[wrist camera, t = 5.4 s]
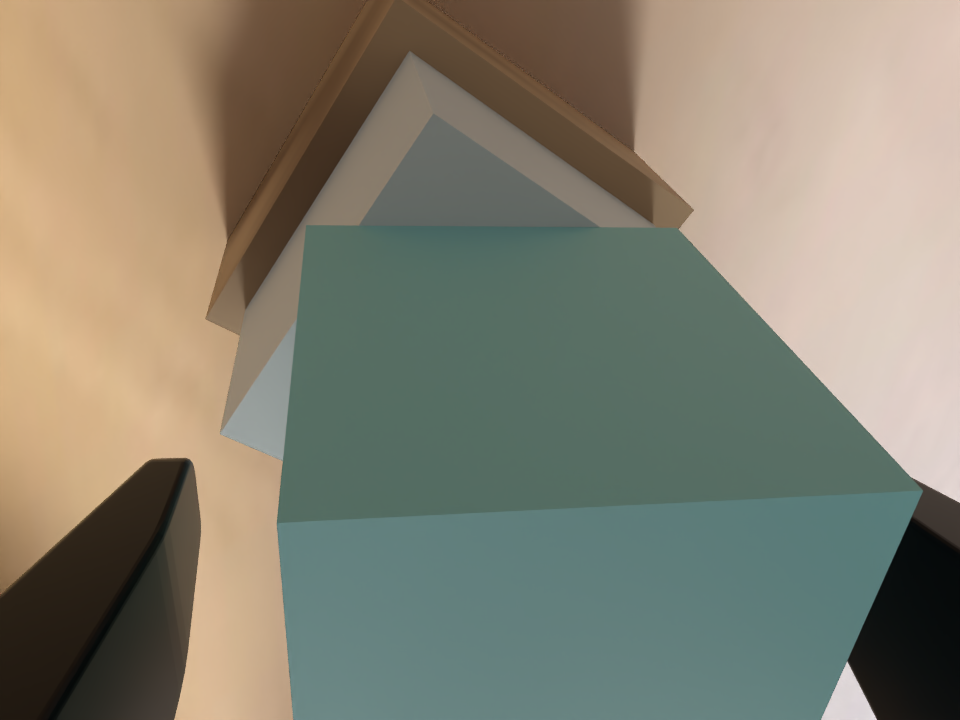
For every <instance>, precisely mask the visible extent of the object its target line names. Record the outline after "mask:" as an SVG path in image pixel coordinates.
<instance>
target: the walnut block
mask: <svg viewBox="0 0 960 720" xmlns="http://www.w3.org/2000/svg"><path fill="white" fill-rule="evenodd" d="M409 51H411V52H412V53H413V54H415V55H416V56H418V57H419V58H420V59H422V60H423V61H425V62H426V63H427V64H429V65H430V66H432V67H433V68H434V69H436V70H437V71H439V72H440V73H441V74H443V75H444V76H446V77H447V78H449V79H450V80H451V81H453V82H454V83H456V84H457V85H458V86H460V87H461V88H463V89H464V90H465V91H467V92H468V93H470V94H471V95H472V96H474V97H475V98H477V99H478V100H479V101H481V102H482V103H484V104H485V105H487V106H488V107H489V108H491V109H492V110H494V111H495V112H496V113H498V114H499V115H501V116H502V117H503V118H505V119H506V120H508V121H509V122H510V123H512V124H513V125H515V126H516V127H517V128H519V129H520V130H522V131H523V132H524V133H526V134H527V135H529V136H530V137H532V138H533V139H534V140H536V141H537V142H539V143H540V144H541V145H543V146H544V147H546V148H547V149H548V150H550V151H551V152H553V153H554V154H555V155H557V156H558V157H560V158H561V159H562V160H564V161H565V162H567V163H568V164H569V165H571V166H572V167H574V168H575V169H577V170H578V171H579V172H581V173H582V174H584V175H585V176H586V177H588V178H589V179H591V180H592V181H593V182H595V183H596V184H598V185H599V186H600V187H602V188H603V189H605V190H606V191H607V192H609V193H610V194H612V195H613V196H614V197H616V198H617V199H619V200H620V201H622V202H623V203H624V204H626V205H627V206H629V207H630V208H631V209H633V210H634V211H636V212H637V213H638V214H640V215H641V216H643V217H644V218H645V219H647V220H648V221H650V222H651V223H652V224H654V226H655V227H656V228H678V229H679V228H680V226H681V225H682V224H683V223H684V222H685V220H686V219H687V218H688V217H689V215H690V214H691V213H692V212H693V211H694V210H693V209H692V208H691V207H690V206H689V205H688V204H687V203H686V202H685V201H684V200H683V199H682V198H681V197H680V196H679V195H678V194H677V193H676V192H675V191H674V190H673V189H672V188H671V187H670V186H669V185H668V184H667V183H666V182H665V181H664V180H662V179H661V178H660V177H659V176H658V175H657V174H656V173H655V172H654V171H653V170H652V169H651V168H650V167H649V166H648V165H647V164H646V163H645V162H644V161H643V160H642V159H641V158H640V157H639V156H638V155H637V154H636V153H635V152H633V151H632V150H631V149H629V148H628V147H627V146H625V145H624V144H623V143H621V142H620V141H618V140H617V139H616V138H614V137H613V136H612V135H610V134H609V133H607V132H606V131H605V130H603V129H602V128H601V127H599V126H598V125H596V124H595V123H594V122H592V121H591V120H590V119H588V118H587V117H586V116H584V115H583V114H581V113H580V112H579V111H577V110H576V109H575V108H573V107H572V106H570V105H569V104H568V103H566V102H565V101H564V100H562V99H561V98H559V97H558V96H557V95H555V94H554V93H553V92H551V91H550V90H549V89H547V88H546V87H544V86H543V85H542V84H540V83H539V82H538V81H536V80H535V79H533V78H532V77H531V76H529V75H528V74H527V73H525V72H524V71H522V70H521V69H520V68H518V67H517V66H516V65H514V64H513V63H512V62H510V61H509V60H507V59H506V58H505V57H503V56H502V55H501V54H499V53H498V52H496V51H495V50H494V49H492V48H491V47H490V46H488V45H487V44H485V43H484V42H483V41H481V40H480V39H479V38H477V37H476V36H474V35H473V34H472V33H470V32H469V31H468V30H466V29H465V28H464V27H462V26H461V25H459V24H458V23H457V22H455V21H454V20H453V19H451V18H450V17H448V16H447V15H446V14H444V13H443V12H442V11H440V10H439V9H437V8H436V7H435V6H433V5H432V4H431V3H429V2H428V1H427V0H367V1H366V3H365V5H364V6H363V8H362V10H361V12H360V13H359V15H358V17H357V18H356V20H355V22H354V24H353V25H352V27H351V29H350V31H349V32H348V34H347V36H346V37H345V39H344V41H343V43H342V44H341V46H340V48H339V49H338V51H337V53H336V55H335V56H334V58H333V60H332V62H331V63H330V65H329V67H328V68H327V70H326V72H325V74H324V75H323V77H322V79H321V81H320V82H319V84H318V86H317V87H316V89H315V91H314V93H313V94H312V96H311V98H310V99H309V101H308V103H307V105H306V106H305V108H304V110H303V112H302V113H301V115H300V117H299V118H298V120H297V122H296V124H295V125H294V127H293V129H292V131H291V132H290V134H289V136H288V137H287V139H286V141H285V143H284V144H283V146H282V148H281V150H280V151H279V153H278V155H277V156H276V158H275V160H274V162H273V163H272V165H271V167H270V168H269V170H268V172H267V174H266V175H265V177H264V179H263V181H262V182H261V184H260V186H259V187H258V189H257V191H256V193H255V194H254V196H253V198H252V200H251V201H250V203H249V205H248V206H247V208H246V210H245V212H244V213H243V215H242V217H241V219H240V220H239V222H238V224H237V225H236V227H235V229H234V231H233V232H232V234H231V236H230V237H229V239H228V241H227V244H226V248H225V252H224V255H223V259H222V262H221V266H220V269H219V273H218V276H217V280H216V283H215V287H214V291H213V294H212V298H211V301H210V305H209V308H208V312H207V315H206V320H208V321H210V322H213V323H215V324H217V325H219V326H221V327H223V328H225V329H227V330H230V331H232V332H234V333H236V334H238V335H240V333H241V328H242V324H243V319H244V314H245V310H246V308H247V306H248V305H249V303H250V302H251V300H252V298H253V297H254V295H255V294H256V292H257V291H258V289H259V287H260V286H261V284H262V283H263V281H264V280H265V278H266V276H267V275H268V273H269V272H270V270H271V268H272V267H273V265H274V264H275V262H276V261H277V259H278V257H279V256H280V254H281V253H282V251H283V250H284V248H285V246H286V245H287V243H288V242H289V240H290V238H291V237H292V235H293V234H294V232H295V231H296V229H297V227H298V226H299V224H300V223H301V221H302V219H303V218H304V216H305V215H306V213H307V212H308V210H309V208H310V207H311V205H312V204H313V202H314V201H315V199H316V197H317V196H318V194H319V193H320V191H321V189H322V188H323V186H324V185H325V183H326V182H327V180H328V178H329V177H330V175H331V174H332V172H333V171H334V169H335V167H336V166H337V164H338V163H339V161H340V159H341V158H342V156H343V155H344V153H345V152H346V150H347V148H348V147H349V145H350V144H351V142H352V141H353V139H354V137H355V136H356V134H357V133H358V131H359V129H360V128H361V126H362V125H363V123H364V122H365V120H366V118H367V117H368V115H369V114H370V112H371V111H372V109H373V107H374V106H375V104H376V103H377V101H378V99H379V98H380V96H381V95H382V93H383V92H384V90H385V88H386V87H387V85H388V84H389V82H390V81H391V79H392V77H393V76H394V74H395V73H396V71H397V69H398V68H399V66H400V65H401V63H402V62H403V60H404V58H405V57H406V55H407V54H408V52H409Z"/></svg>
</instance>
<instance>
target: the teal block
mask: <svg viewBox="0 0 960 720" xmlns="http://www.w3.org/2000/svg"><path fill="white" fill-rule="evenodd" d="M922 492H923V490H922V489H921V488H920V487H919V486H918V485H917V483H916V482H915V481H914V480H913V479H912V478H911V477H910V476H909V475H908V474H907V473H906V472H905V471H904V470H903V469H902V467H901V466H900V465H899V464H898V463H897V462H896V461H895V460H894V459H893V458H892V457H891V456H890V455H889V454H888V452H887V451H886V450H885V449H884V448H883V447H882V446H881V445H880V444H879V443H878V442H877V441H876V440H875V439H874V438H873V436H872V435H871V434H870V433H869V432H868V431H867V430H866V429H865V428H864V427H863V426H862V425H861V424H860V423H859V422H858V420H857V419H856V418H855V417H854V416H853V415H852V414H851V413H850V412H849V411H848V410H847V409H846V408H845V407H844V406H843V404H842V403H841V402H840V401H839V400H838V399H837V398H836V397H835V396H834V395H833V394H832V393H831V392H830V391H829V390H828V388H827V387H826V386H825V385H824V384H823V383H822V382H821V381H820V380H819V379H818V378H817V377H816V376H815V375H814V374H813V372H812V371H811V370H810V369H809V368H808V367H807V366H806V365H805V364H804V363H803V362H802V361H801V360H800V359H799V358H798V356H797V355H796V354H795V353H794V352H793V351H792V350H791V349H790V348H789V347H788V346H787V345H786V344H785V343H784V342H783V340H782V339H781V338H780V337H779V336H778V335H777V334H776V333H775V332H774V331H773V330H772V329H771V328H770V327H769V326H768V324H767V323H766V322H765V321H764V320H763V319H762V318H761V317H760V316H759V315H758V314H757V313H756V312H755V311H754V310H753V308H752V307H751V306H750V305H749V304H748V303H747V302H746V301H745V300H744V299H743V298H742V297H741V296H740V295H739V294H738V292H737V291H736V290H735V289H734V288H733V287H732V286H731V285H730V284H729V283H728V282H727V281H726V280H725V279H724V278H723V276H722V275H721V274H720V273H719V272H718V271H717V270H716V269H715V268H714V267H713V266H712V265H711V264H710V263H709V262H708V260H707V259H706V258H705V257H704V256H703V255H702V254H701V253H700V252H699V251H698V250H697V249H696V248H695V247H694V246H693V244H692V243H691V242H690V241H689V240H688V239H687V238H686V237H685V236H684V235H683V234H682V233H681V232H680V231H679V230H678V228H639V227H498V226H358V225H306V231H305V241H304V251H303V261H302V271H301V282H300V292H299V302H298V312H297V322H296V333H295V343H294V353H293V363H292V373H291V384H290V394H289V404H288V414H287V424H286V435H285V445H284V455H283V465H282V475H281V486H280V496H279V506H278V516H277V531H278V543H279V555H280V566H281V578H282V590H283V602H284V614H285V626H286V638H287V650H288V661H289V673H290V685H291V697H292V709H293V720H821V718H822V716H823V714H824V711H825V709H826V707H827V705H828V702H829V700H830V698H831V696H832V693H833V691H834V689H835V687H836V685H837V682H838V680H839V678H840V676H841V673H842V671H843V669H844V667H845V664H846V662H847V660H848V658H849V655H850V653H851V651H852V649H853V647H854V644H855V642H856V640H857V638H858V635H859V633H860V631H861V629H862V626H863V624H864V622H865V620H866V617H867V615H868V613H869V611H870V609H871V606H872V604H873V602H874V600H875V597H876V595H877V593H878V591H879V588H880V586H881V584H882V582H883V579H884V577H885V575H886V573H887V571H888V568H889V566H890V564H891V562H892V559H893V557H894V555H895V553H896V550H897V548H898V546H899V544H900V541H901V539H902V537H903V535H904V533H905V530H906V528H907V526H908V524H909V521H910V519H911V517H912V515H913V512H914V510H915V508H916V506H917V504H918V501H919V499H920V497H921V495H922Z"/></svg>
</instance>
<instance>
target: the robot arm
mask: <svg viewBox="0 0 960 720" xmlns="http://www.w3.org/2000/svg"><path fill="white" fill-rule="evenodd" d="M912 479H913V478H912ZM913 480H914V481H915V482H916V483H917V485H918V486H919V487H920V488H921V489H922V490H923V492H922V495H921V497H920V499H919V501H918V504H917V506H916V508H915V510H914V512H913V515H912V517H911V519H910V521H909V524H908V526H907V528H906V530H905V533H904V535H903V537H902V539H901V541H900V544H899V546H898V548H897V550H896V553H895V555H894V557H893V559H892V562H891V564H890V566H889V568H888V571H887V573H886V575H885V577H884V579H883V582H882V584H881V586H880V588H879V591H878V593H877V595H876V597H875V600H874V602H873V604H872V606H871V609H870V611H869V613H868V615H867V617H866V620H865V622H864V624H863V626H862V629H861V631H860V633H859V635H858V638H857V640H856V642H855V644H854V647H853V649H852V651H851V653H850V655H849V658H848V660H847V662H848V664H849V665H850V667H851V669H852V671H853V673H854V675H855V677H856V679H857V681H858V683H859V685H860V687H861V689H862V691H863V693H864V695H865V697H866V699H867V701H868V703H869V705H870V707H871V709H872V711H873V713H874V715H875V717H876V719H877V720H960V503H959V502H957V501H955V500H953V499H951V498H949V497H947V496H946V495H944V494H942V493H940V492H938V491H936V490H934V489H932V488H930V487H928V486H926V485H925V484H923V483H921V482H919V481H917V480H915V479H913ZM200 537H201V519H200V510H199V502H198V494H197V486H196V477H195V470H194V466H193V463H192V462H191V461H190V460H189V459H188V458H161V459H151V460H149V461H148V462H146V463H145V464H144V465H143V466H142V467H140V468H139V469H138V470H137V471H136V472H135V473H134V474H133V475H132V476H131V477H129V478H128V479H127V480H126V481H125V482H124V483H123V484H122V485H121V486H120V487H118V488H117V489H116V490H115V491H114V492H113V493H112V494H111V495H110V496H109V497H108V498H106V499H105V500H104V501H103V502H102V503H101V504H100V505H99V506H98V507H97V508H95V509H94V510H93V511H92V512H91V513H90V514H89V515H88V516H87V517H86V518H84V519H83V520H82V521H81V522H80V523H79V524H78V525H77V526H76V527H75V528H73V529H72V530H71V531H70V532H69V533H68V534H67V535H66V536H65V537H64V538H62V539H61V540H60V541H59V542H58V543H57V544H56V545H55V546H54V547H53V548H51V549H50V550H49V551H48V552H47V553H46V554H45V555H44V556H43V557H42V558H40V559H39V560H38V561H37V562H36V563H35V564H34V565H33V566H32V567H31V568H30V569H28V570H27V571H26V572H25V573H24V574H23V575H22V576H21V577H20V578H19V579H17V580H16V581H15V582H14V583H13V584H12V585H11V586H10V587H9V588H8V589H6V590H5V591H4V592H3V593H2V594H1V595H0V720H174V718H175V714H176V710H177V706H178V702H179V697H180V693H181V688H182V683H183V678H184V674H185V667H186V660H187V653H188V646H189V637H190V628H191V619H192V610H193V601H194V592H195V583H196V574H197V565H198V556H199V547H200Z"/></svg>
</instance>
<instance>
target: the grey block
mask: <svg viewBox="0 0 960 720" xmlns="http://www.w3.org/2000/svg"><path fill="white" fill-rule="evenodd" d="M306 225H358V226H498V227H639V228H656V227H655V226H654V224H652V223H651V222H650V221H648V220H647V219H645V218H644V217H643V216H641V215H640V214H638V213H637V212H636V211H634V210H633V209H631V208H630V207H629V206H627V205H626V204H624V203H623V202H622V201H620V200H619V199H617V198H616V197H614V196H613V195H612V194H610V193H609V192H607V191H606V190H605V189H603V188H602V187H600V186H599V185H598V184H596V183H595V182H593V181H592V180H591V179H589V178H588V177H586V176H585V175H584V174H582V173H581V172H579V171H578V170H577V169H575V168H574V167H572V166H571V165H569V164H568V163H567V162H565V161H564V160H562V159H561V158H560V157H558V156H557V155H555V154H554V153H553V152H551V151H550V150H548V149H547V148H546V147H544V146H543V145H541V144H540V143H539V142H537V141H536V140H534V139H533V138H532V137H530V136H529V135H527V134H526V133H524V132H523V131H522V130H520V129H519V128H517V127H516V126H515V125H513V124H512V123H510V122H509V121H508V120H506V119H505V118H503V117H502V116H501V115H499V114H498V113H496V112H495V111H494V110H492V109H491V108H489V107H488V106H487V105H485V104H484V103H482V102H481V101H479V100H478V99H477V98H475V97H474V96H472V95H471V94H470V93H468V92H467V91H465V90H464V89H463V88H461V87H460V86H458V85H457V84H456V83H454V82H453V81H451V80H450V79H449V78H447V77H446V76H444V75H443V74H441V73H440V72H439V71H437V70H436V69H434V68H433V67H432V66H430V65H429V64H427V63H426V62H425V61H423V60H422V59H420V58H419V57H418V56H416V55H415V54H413V53H412V52H411V51H409V52H408V54H407V55H406V57H405V58H404V60H403V62H402V63H401V65H400V66H399V68H398V69H397V71H396V73H395V74H394V76H393V77H392V79H391V81H390V82H389V84H388V85H387V87H386V88H385V90H384V92H383V93H382V95H381V96H380V98H379V99H378V101H377V103H376V104H375V106H374V107H373V109H372V111H371V112H370V114H369V115H368V117H367V118H366V120H365V122H364V123H363V125H362V126H361V128H360V129H359V131H358V133H357V134H356V136H355V137H354V139H353V141H352V142H351V144H350V145H349V147H348V148H347V150H346V152H345V153H344V155H343V156H342V158H341V159H340V161H339V163H338V164H337V166H336V167H335V169H334V171H333V172H332V174H331V175H330V177H329V178H328V180H327V182H326V183H325V185H324V186H323V188H322V189H321V191H320V193H319V194H318V196H317V197H316V199H315V201H314V202H313V204H312V205H311V207H310V208H309V210H308V212H307V213H306V215H305V216H304V218H303V219H302V221H301V223H300V224H299V226H298V227H297V229H296V231H295V232H294V234H293V235H292V237H291V238H290V240H289V242H288V243H287V245H286V246H285V248H284V250H283V251H282V253H281V254H280V256H279V257H278V259H277V261H276V262H275V264H274V265H273V267H272V268H271V270H270V272H269V273H268V275H267V276H266V278H265V280H264V281H263V283H262V284H261V286H260V287H259V289H258V291H257V292H256V294H255V295H254V297H253V298H252V300H251V302H250V303H249V305H248V306H247V308H246V310H245V314H244V319H243V324H242V328H241V333H240V338H239V343H238V348H237V353H236V358H235V362H234V367H233V372H232V377H231V382H230V387H229V392H228V396H227V401H226V406H225V411H224V416H223V421H222V426H221V430H220V434H221V435H223V436H225V437H228V438H230V439H232V440H235V441H237V442H240V443H242V444H244V445H247V446H249V447H251V448H254V449H256V450H258V451H261V452H263V453H265V454H268V455H270V456H272V457H275V458H277V459H279V460H282V461H283V455H284V445H285V435H286V424H287V414H288V404H289V394H290V384H291V373H292V363H293V353H294V343H295V333H296V322H297V312H298V302H299V292H300V282H301V271H302V261H303V251H304V241H305V231H306Z"/></svg>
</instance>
